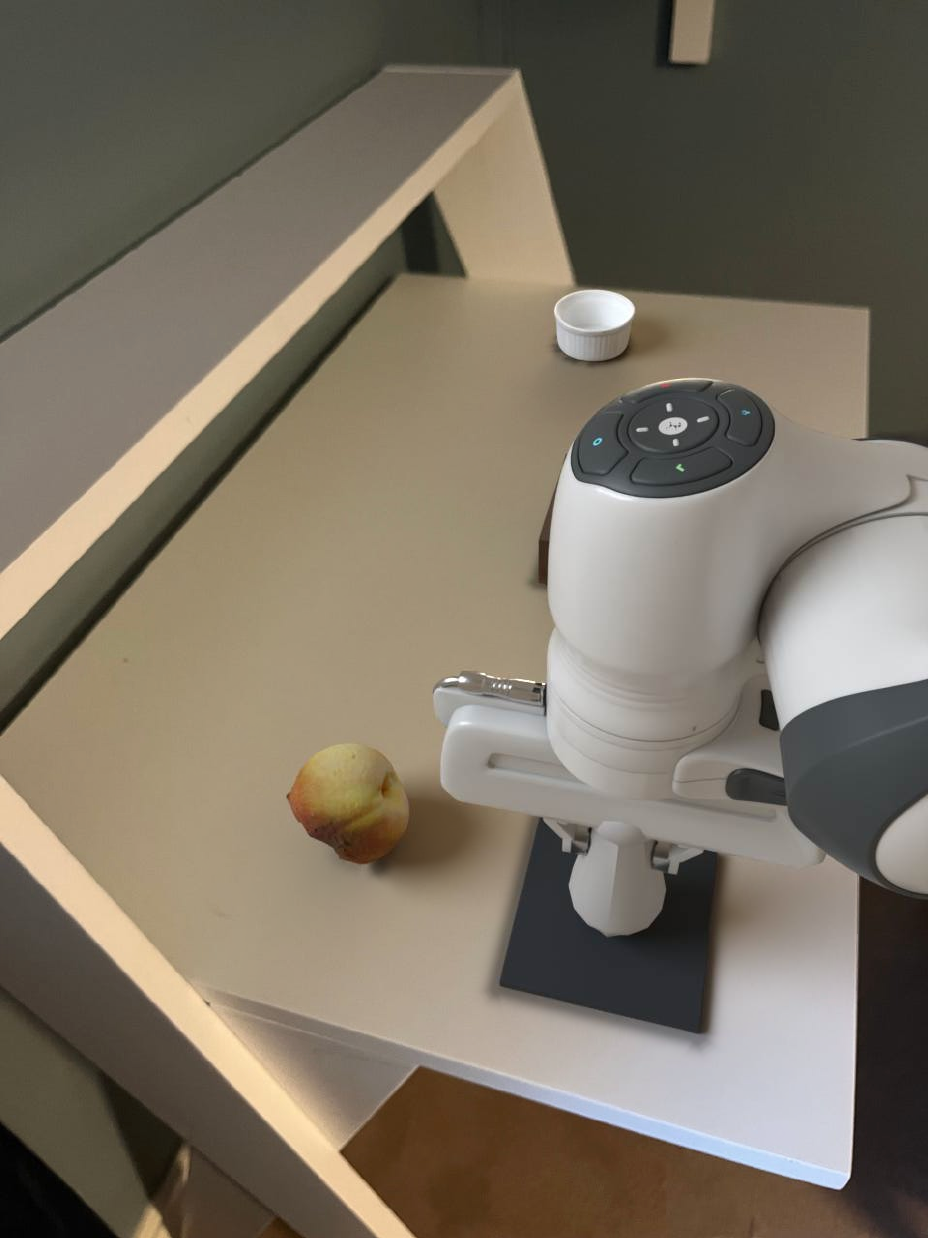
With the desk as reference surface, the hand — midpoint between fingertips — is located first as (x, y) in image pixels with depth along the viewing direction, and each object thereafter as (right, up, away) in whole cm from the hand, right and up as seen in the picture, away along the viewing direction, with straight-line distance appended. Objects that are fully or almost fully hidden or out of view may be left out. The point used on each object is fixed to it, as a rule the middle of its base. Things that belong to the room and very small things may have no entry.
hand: (621, 852), depth 56 cm
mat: (0, -6, +6) cm, 8 cm away
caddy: (+5, +20, +30) cm, 36 cm away
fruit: (-16, -2, +11) cm, 20 cm away
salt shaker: (0, -5, +5) cm, 7 cm away
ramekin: (+5, +45, +53) cm, 70 cm away
